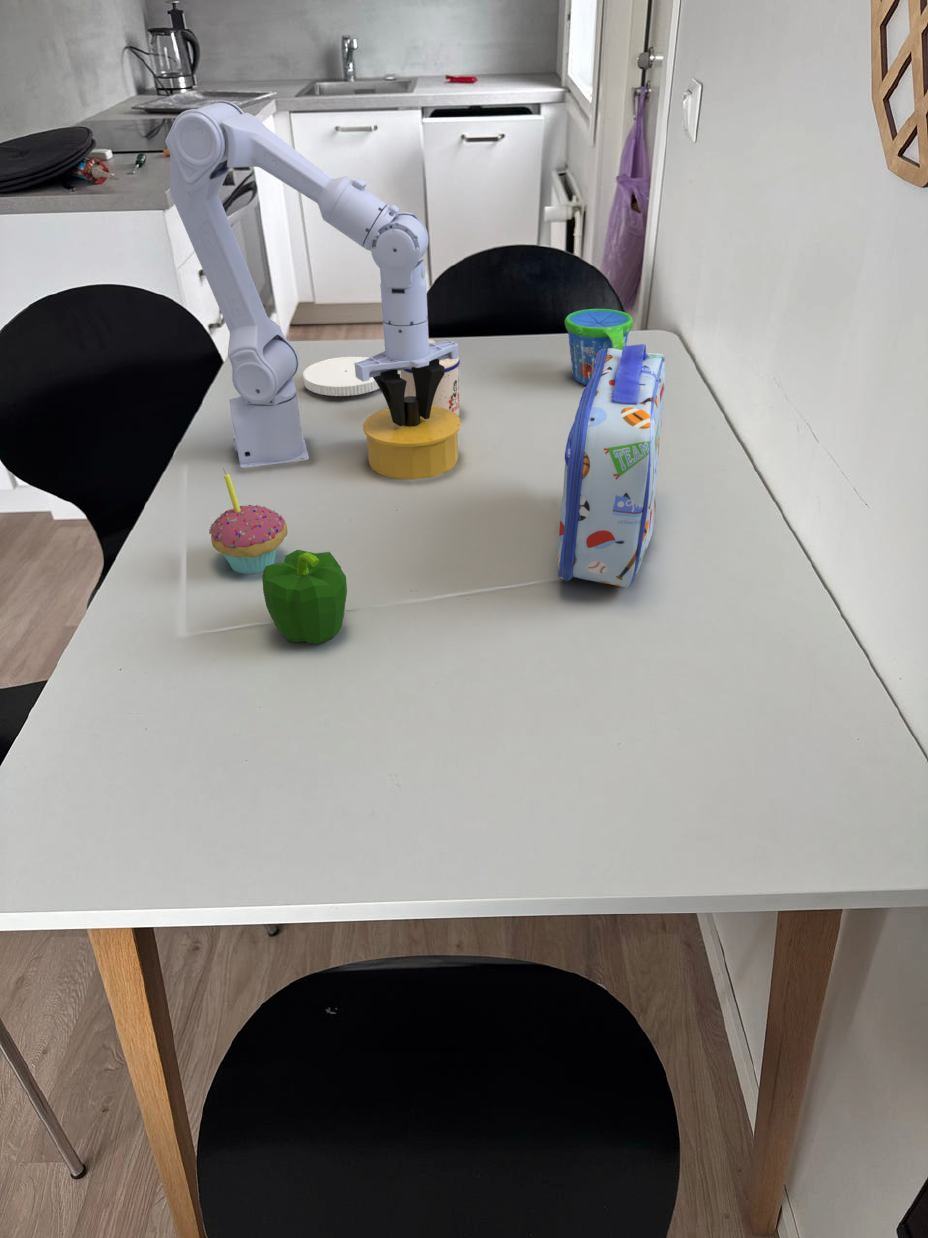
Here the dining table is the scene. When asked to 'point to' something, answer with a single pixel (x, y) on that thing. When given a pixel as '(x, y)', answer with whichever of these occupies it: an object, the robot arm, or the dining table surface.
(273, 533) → the cupcake
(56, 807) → the dining table surface
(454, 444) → the tin
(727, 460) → the dining table surface
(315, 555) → the bell pepper
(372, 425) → the tin lid
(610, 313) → the snack cup
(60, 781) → the dining table surface
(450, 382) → the teacup with lid
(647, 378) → the lunch box
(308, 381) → the plastic lid
